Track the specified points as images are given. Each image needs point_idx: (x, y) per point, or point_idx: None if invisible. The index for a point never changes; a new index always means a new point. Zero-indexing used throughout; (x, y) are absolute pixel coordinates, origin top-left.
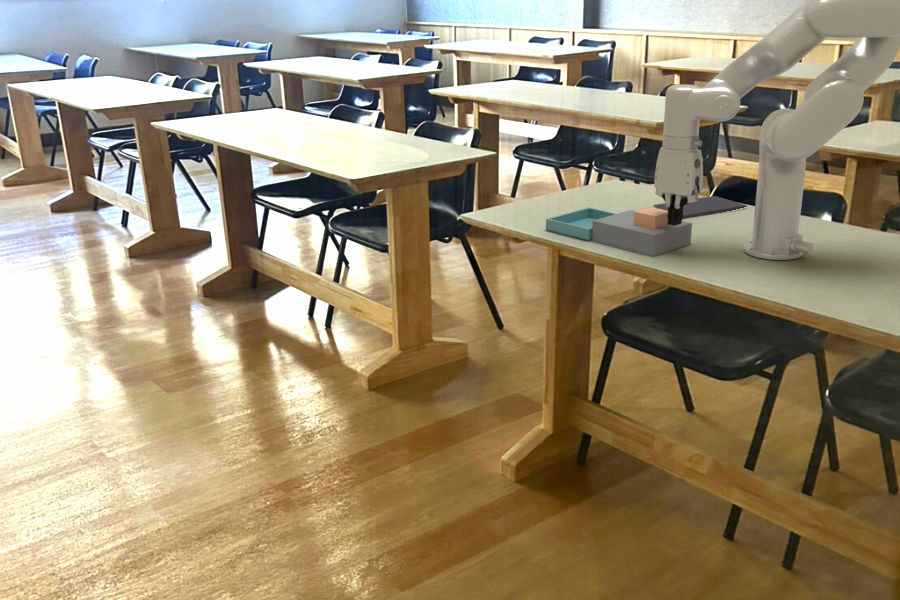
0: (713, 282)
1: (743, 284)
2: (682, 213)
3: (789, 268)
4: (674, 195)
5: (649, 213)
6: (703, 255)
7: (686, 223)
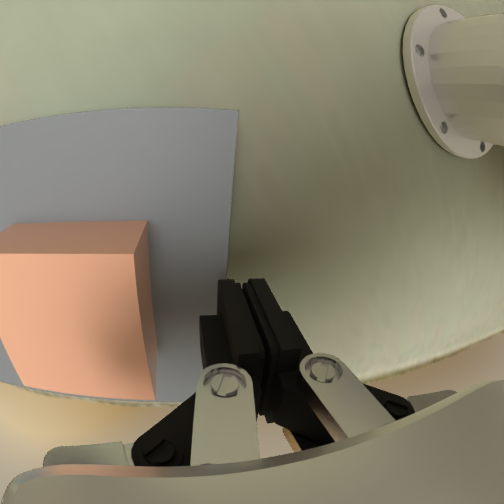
0: (404, 361)
1: (444, 329)
2: (301, 340)
3: (494, 188)
4: (241, 457)
5: (88, 378)
6: (336, 223)
7: (215, 141)
